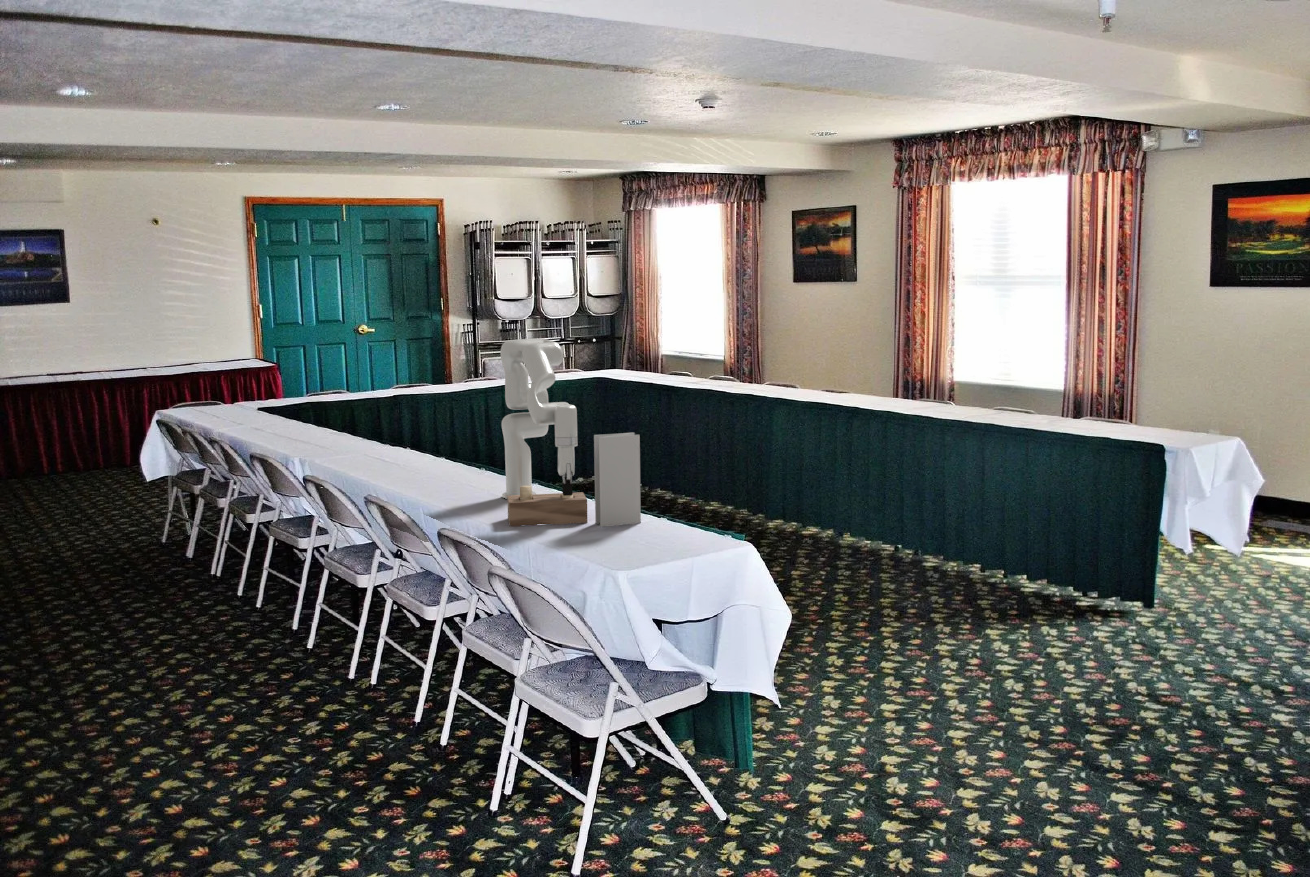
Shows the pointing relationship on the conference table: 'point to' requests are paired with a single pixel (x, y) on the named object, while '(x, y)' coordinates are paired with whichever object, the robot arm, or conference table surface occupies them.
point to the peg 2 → (567, 496)
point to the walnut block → (547, 509)
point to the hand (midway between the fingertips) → (567, 494)
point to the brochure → (617, 479)
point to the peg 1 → (526, 493)
